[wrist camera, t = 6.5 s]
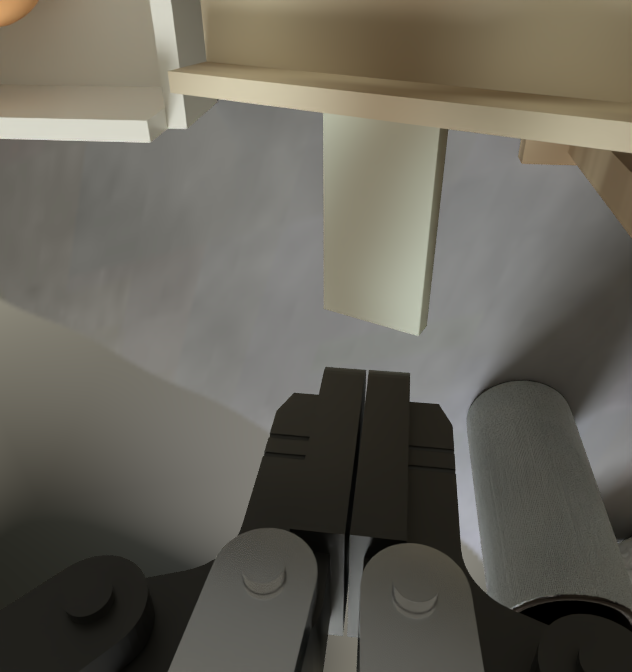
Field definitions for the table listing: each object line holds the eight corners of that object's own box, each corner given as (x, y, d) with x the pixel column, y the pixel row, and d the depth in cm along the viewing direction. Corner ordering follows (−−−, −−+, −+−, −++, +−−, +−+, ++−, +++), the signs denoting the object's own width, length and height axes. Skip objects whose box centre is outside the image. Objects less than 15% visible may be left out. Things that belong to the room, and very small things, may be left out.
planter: (460, 451, 29) (484, 670, 20) (471, 376, 26) (504, 589, 18) (559, 458, 28) (627, 685, 20) (580, 381, 26) (668, 604, 17)
